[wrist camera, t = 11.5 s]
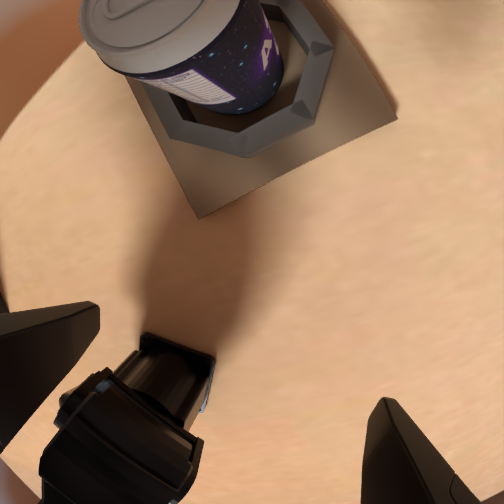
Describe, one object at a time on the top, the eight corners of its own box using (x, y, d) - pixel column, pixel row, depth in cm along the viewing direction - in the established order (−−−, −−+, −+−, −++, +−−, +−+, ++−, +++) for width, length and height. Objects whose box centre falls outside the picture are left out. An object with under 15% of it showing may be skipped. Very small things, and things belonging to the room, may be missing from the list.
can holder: (284, -38, 16) (277, -65, 12) (394, 120, 18) (408, 112, 14) (122, 58, 20) (95, 47, 16) (203, 216, 22) (183, 227, 18)
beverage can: (297, 102, 18) (261, 17, 6) (208, 129, 19) (78, 101, 8) (270, 24, 17) (211, -99, 5) (187, 53, 18) (65, -23, 7)
